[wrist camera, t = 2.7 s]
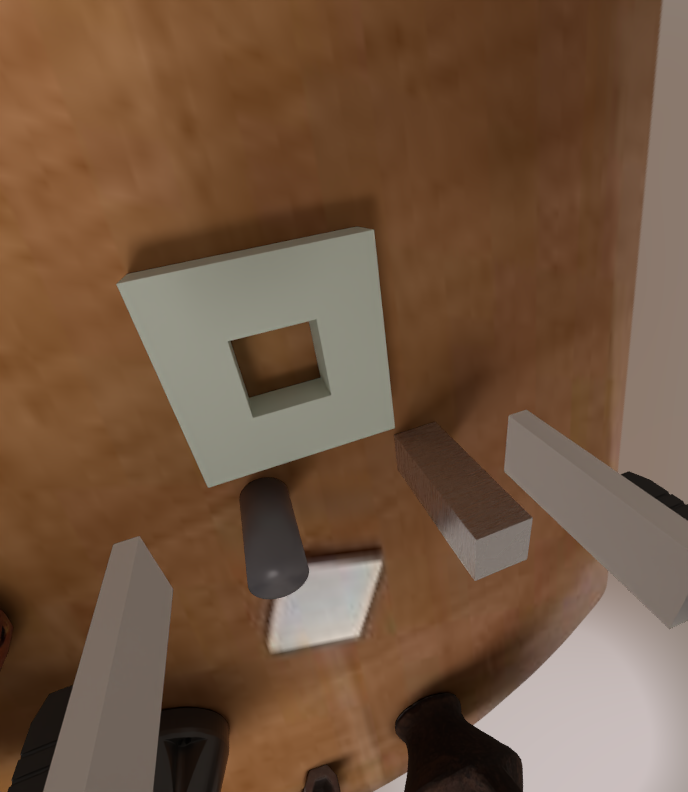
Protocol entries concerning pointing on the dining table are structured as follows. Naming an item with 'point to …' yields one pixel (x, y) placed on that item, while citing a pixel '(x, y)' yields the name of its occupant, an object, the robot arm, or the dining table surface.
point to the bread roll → (4, 636)
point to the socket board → (257, 313)
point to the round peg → (271, 540)
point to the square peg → (463, 501)
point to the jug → (454, 751)
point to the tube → (322, 780)
